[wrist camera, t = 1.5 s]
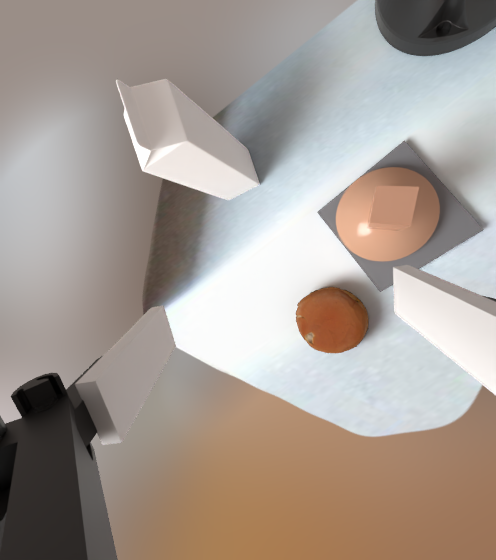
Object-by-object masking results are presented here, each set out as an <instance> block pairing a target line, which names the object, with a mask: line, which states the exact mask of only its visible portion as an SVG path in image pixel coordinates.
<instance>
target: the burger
mask: <svg viewBox="0 0 496 560" xmlns="http://www.w3.org/2000/svg"><path fill="white" fill-rule="evenodd" d="M297 306H298V308H297V311H296V315H297V316H296V322H297V325H298V328H299V331H300V333H301V335H302V337H303V338H304V339H305V340H306V341H307V343H308V344H309V345H310V346H311V347H312V348H314V349H316V350H318V351H322V352H326V353H342V352H344V351H347V350H350V349H352V348H354V347H356V346H357V345H358V344H359V343H360V342H361V341H362V339H363V338H364V336H365V334H366V331H367V329H368V314H367V310H366V308H365V307H364V305H363V303H362V302H361V301H360V300H359V299H358V298H357V297H356V296H354V295H353V294H352V293H350V292H348V291H346V290H341V289H340V288H335V287H328V288H322V289H320V290H316V291H314V292H311V293H310V294H309V295H307V296H306V297H304V298H303V299H302V300H301V301H300V302H299V303H298V305H297Z"/></svg>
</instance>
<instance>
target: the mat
mask: <svg viewBox="0 0 496 560" xmlns="http://www.w3.org/2000/svg"><path fill="white" fill-rule="evenodd" d="M387 167H400V168H406V169H409V170H412V171H415V172H417V173H419V174H420V175H422V176H423V177H425V178H426V179H427V180H428V181H429V182H430V183H431V185H432V186H433V187H434V189H435V191H436V193H437V196H438V199H439V204H440V214H439V220H438V223H437V226H436V228H435V230H434V232H433V234H432V235H431V237H430V238H429V239H428V241H427V242H426V243H425V244H424V245H423V246H422V247H421V248H419V249H418V250H417V251H415V252H414V253H412V254H410V255H408V256H406V257H403V258H401V259H397V260H393V261H372V260H368V259H365V258H362V257H360V256H358V255H356V254H354V253H353V252H352V251H350V250H349V249H348V248H347V247H346V246H345V245H344V243H343V242H342V240H341V238H340V236H339V234H338V231H337V227H336V212H337V207H338V204H339V202H340V200H341V198H342V196H343V194H344V193H345V191H346V190H347V189H348V188H349V187H347V188H346V189H345V190H344V191H343V192H341V193H340V194H339V195H338V196H336V197H335V198H334V199H333V200H332V201H330V202H329V203H328V204H327V205H326V206H324V207H323V208H322V209H321V210H319V211H318V214H319V215H320V216H321V217H322V219H323V220H324V221H325V223H326V224H327V225H328V226H329V228H330V229H331V230H332V231H333V233H334V234H335V235H336V236H337V238H338V239H339V240H340V242H341V243H342V244H343V245H344V247H345V248H346V249H347V250H348V252H349V253H350V254H351V255H352V257H353V258H354V259H355V261H356V262H357V263H358V264H359V266H360V267H361V268H362V269H363V271H364V272H365V273H366V274H367V276H368V277H369V278H370V280H371V281H372V282H373V283H374V285H375V286H376V287H377V288H378V290H379V291H380V292H381V291H383V290H384V289H386V288H388V287H389V286H391V285H393V284H394V283H393V267H397V266H403V265H409V266H412V267H414V268H417V269H419V268H421V267H422V266H424V265H426V264H427V263H429V262H431V261H432V260H434V259H436V258H437V257H439V256H441V255H442V254H444V253H446V252H447V251H449V250H451V249H452V248H454V247H456V246H457V245H459V244H460V243H462V242H464V241H465V240H467V239H469V238H470V237H472V236H474V235H475V234H477V233H479V232H480V231H482V230H484V229H483V228H482V227H481V226H480V225H479V224H478V223H477V222H476V220H475V219H474V218H473V217H472V216H471V215H470V214H469V213H468V211H467V210H466V209H465V208H464V207H463V206H462V205H461V204H460V202H459V201H458V200H457V199H456V198H455V197H454V196H453V195H452V193H451V192H450V191H449V190H448V189H447V188H446V187H445V186H444V184H443V183H442V182H441V181H440V180H439V179H438V178H437V177H436V175H435V174H434V173H433V172H432V171H431V170H430V169H429V168H428V167H427V165H426V164H425V163H424V162H423V161H422V160H421V159H420V158H419V156H418V155H417V154H416V153H415V152H414V151H413V150H412V149H411V147H410V146H409V145H408V144H407V143H406V142H405V141H403V142H402V143H401V144H400V145H399V146H397V147H396V148H395V149H394V150H392V151H391V152H390V153H389V154H388V155H386V156H385V157H384V158H383V159H382V160H380V161H379V162H378V163H377V164H375V165H374V166H373V167H372V168H371V169H369V170H368V171H367V172H366V173H364V174H363V175H365V174H367V173H369V172H371V171H374V170H377V169H381V168H387ZM363 175H362V176H363ZM358 179H359V178H358Z"/></svg>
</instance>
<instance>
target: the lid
mask: <svg viewBox="0 0 496 560" xmlns="http://www.w3.org/2000/svg"><path fill="white" fill-rule="evenodd" d="M439 214H440V204H439V199H438V196H437V193H436V191H435V189H434V187H433V186H432V185H431V183H430V182H429V181H428V180H427V179H426V178H425V177H423V176H422V175H420V174H419V173H417V172H415V171H412V170H409V169H406V168H400V167H387V168H381V169H377V170H374V171H371V172H369V173H367V174H365V175H363V176H361V177H360V178H359V179H357V180H356V181H355V182H354V183H352V184H351V185H350V186H349V188H348V189H347V190H346V191H345V193H344V194H343V196H342V198H341V200H340V202H339V204H338V207H337V212H336V227H337V231H338V234H339V236H340V238H341V240H342V242H343V243H344V245H345V246H346V247H347V248H348V249H349V250H350V251H352V252H353V253H354V254H356V255H358V256H360V257H362V258H365V259H368V260H372V261H393V260H397V259H401V258H403V257H406V256H408V255H410V254H412V253H414V252H415V251H417V250H418V249H419V248H421V247H422V246H423V245H424V244H425V243H426V242H427V241H428V239H429V238H430V237H431V235H432V234H433V232H434V230H435V228H436V226H437V223H438V220H439Z"/></svg>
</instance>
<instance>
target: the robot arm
mask: <svg viewBox="0 0 496 560" xmlns="http://www.w3.org/2000/svg"><path fill="white" fill-rule="evenodd" d="M375 15H376V20H377V24H378V27H379V30H380V32H381V33H382V35H383V37H384V38H385V39H386V41H387V42H388V43H389V44H390V45H392V46H393V47H394V48H396V49H398V50H400V51H402V52H404V53H407V54H411V55H417V56H432V55H439V54H444V53H447V52H451V51H454V50H457V49H459V48H462V47H464V46H466V45H468V44H470V43H472V42H474V41H475V40H477V39H479V38H480V37H482V36H483V35H485V34H486V33H488V32H489V31H490V30H492V29H493V28H494V27H495V26H496V0H375ZM393 283H394V313H395V314H396V315H397V316H399V317H400V318H401V319H402V320H404V321H405V322H406V323H407V324H409V325H410V326H411V327H412V328H413V329H415V330H416V331H417V332H418V333H420V334H421V335H422V336H423V337H425V338H426V339H427V340H428V341H429V342H431V343H432V344H433V345H434V346H436V347H437V348H438V349H439V350H441V351H442V352H443V353H444V354H445V355H447V356H448V357H449V358H450V359H452V360H453V361H454V362H455V363H457V364H458V365H459V366H460V367H461V368H463V369H464V370H465V371H466V372H468V373H469V374H470V375H471V376H473V377H474V378H475V379H476V380H477V381H479V382H480V383H481V384H482V385H484V386H485V387H486V388H488V389H489V390H490V391H491V392H492V393H493V394H495V395H496V299H494V298H490V297H485V296H481V295H478V294H476V293H474V292H471V291H469V290H467V289H464V288H462V287H459V286H457V285H455V284H452V283H450V282H448V281H445V280H443V279H440V278H438V277H436V276H433V275H431V274H428V273H426V272H424V271H421V270H419V269H417V268H414V267H412V266H409V265H403V266H397V267H393ZM175 347H176V345H175V342H174V338H173V335H172V332H171V328H170V325H169V322H168V319H167V315H166V312H165V309H164V306H158V307H152V308H150V309H149V310H148V311H147V312H146V313H145V314H144V315H143V316H142V317H141V318H140V319H139V320H138V321H137V322H136V323H135V324H134V325H133V327H131V328H130V329H129V330H128V331H127V332H126V333H125V334H124V335H123V336H122V338H120V339H119V340H118V341H117V342H116V343H115V344H114V346H112V347H111V349H109V351H107V352H106V353H105V354H104V355H103V356H102V357H100V358H99V359H97V360H96V361H95V362H94V363H93V364H92V365H91V366H90V367H89V369H87V370H86V371H85V372H84V373H83V375H81V376H80V377H79V378H78V379H77V380H76V381H75V382H74V383H73V384H72V385H71V386H70V387H69V388H68V389H67V390H66V389H65V387H64V385H63V383H62V381H61V379H60V377H59V375H58V374H57V373H49V374H45V375H42V376H39V377H36V378H34V379H32V380H30V381H28V382H27V383H25V384H24V385H22V386H20V387H19V388H18V389H17V390H16V391H14V392H13V394H12V395H11V398H12V400H13V402H14V403H15V405H16V407H17V409H18V411H19V412H20V414H21V416H22V418H21V419H18V420H15V421H12V422H9V423H6V424H5V423H4V422H3V420H2V418H1V417H0V560H117V555H116V550H115V546H114V541H113V536H112V532H111V527H110V522H109V518H108V513H107V508H106V504H105V500H104V494H103V490H102V485H101V480H100V476H99V471H98V466H97V462H96V457H95V452H94V449H93V446H92V444H91V443H90V442H91V440H92V439H93V437H94V436H95V435H96V433H97V434H98V436H99V438H100V440H101V442H102V445H105V444H114V443H122V441H123V440H124V438H125V436H126V434H127V432H128V430H129V429H130V427H131V425H132V423H133V422H134V420H135V418H136V416H137V415H138V413H139V411H140V409H141V407H142V406H143V404H144V402H145V400H146V398H147V397H148V395H149V393H150V391H151V390H152V388H153V386H154V384H155V382H156V381H157V379H158V377H159V375H160V374H161V372H162V370H163V368H164V366H165V365H166V363H167V361H168V359H169V358H170V356H171V354H172V352H173V350H174V348H175Z"/></svg>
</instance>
